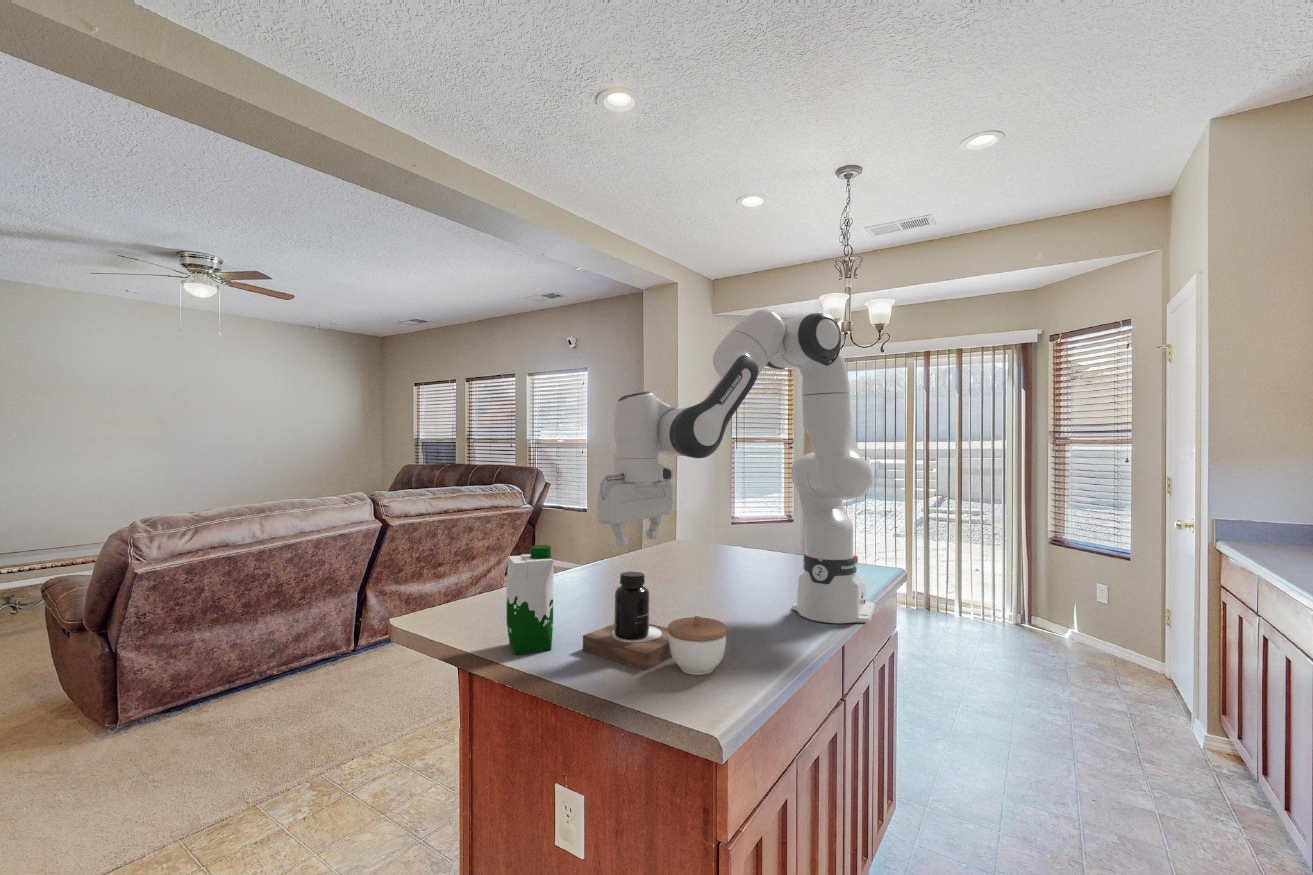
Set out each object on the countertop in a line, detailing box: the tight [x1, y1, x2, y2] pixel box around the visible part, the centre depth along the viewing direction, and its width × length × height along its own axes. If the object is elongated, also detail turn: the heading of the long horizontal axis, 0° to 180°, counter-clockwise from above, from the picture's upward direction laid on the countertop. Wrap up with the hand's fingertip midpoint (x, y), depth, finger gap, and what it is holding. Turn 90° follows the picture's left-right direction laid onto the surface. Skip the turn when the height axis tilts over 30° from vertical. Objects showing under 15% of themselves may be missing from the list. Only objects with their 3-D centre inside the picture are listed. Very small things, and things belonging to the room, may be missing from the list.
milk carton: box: [506, 544, 555, 656], centre depth 115 cm, size 9×9×20 cm
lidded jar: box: [667, 615, 728, 676], centre depth 104 cm, size 11×11×9 cm
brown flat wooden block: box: [582, 623, 673, 671], centre depth 113 cm, size 14×16×3 cm
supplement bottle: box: [614, 571, 650, 640], centre depth 112 cm, size 7×7×12 cm
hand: (637, 542), depth 113 cm, fingers open, 8 cm apart
